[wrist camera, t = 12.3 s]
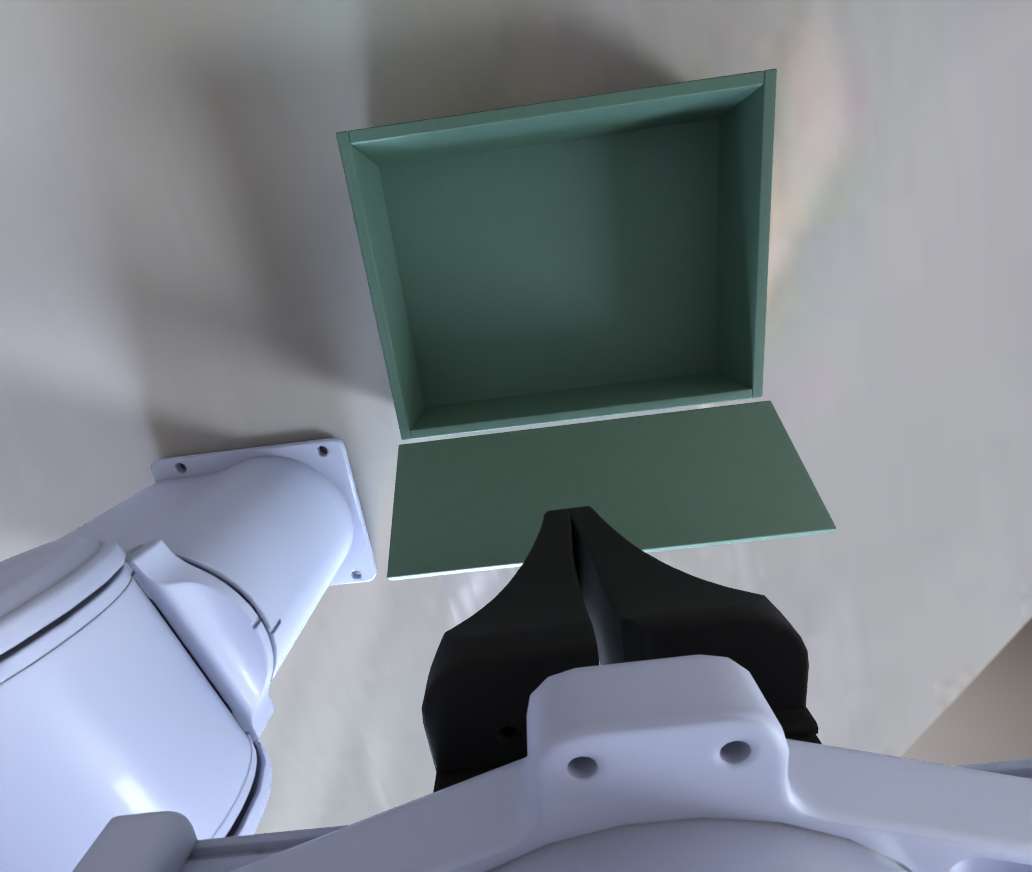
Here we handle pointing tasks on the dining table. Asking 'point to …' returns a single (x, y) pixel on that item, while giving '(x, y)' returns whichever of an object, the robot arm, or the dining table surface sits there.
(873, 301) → the dining table surface
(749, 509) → the flap
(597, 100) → the case
